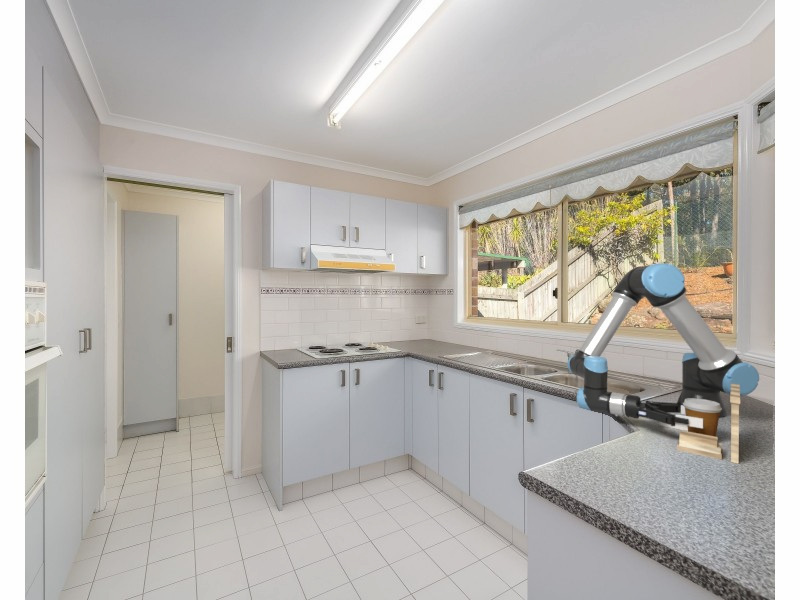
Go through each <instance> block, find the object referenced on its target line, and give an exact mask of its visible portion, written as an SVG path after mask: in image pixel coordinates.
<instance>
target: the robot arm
mask: <svg viewBox="0 0 800 600" xmlns="http://www.w3.org/2000/svg"><path fill="white" fill-rule="evenodd" d="M685 281H686V280H685V276H684V273H683V272H682V271H681V269H679V268H678V267H677V266H675V265H672V264H671V263H660V262H659V263H653V264H649V265H642V266H636V267H634V268H632V269H629V271H628V272H627V273H625V275H624V276H623V277H622V278H621V279H620V281H619V282H618V284H617V285H616V287H615V288H614V290H613V291H612V293H611V296H612V297H611V300H610V301H609V303H608V304H607V305H606V307H605V309H604V311H603V312H602V313H601V315H600V317H599V319H598V320H597V321H596V323H595V325H594V326H593V328H592V330H591V331H590V333H589V334H588V336H587V337H586V339H585V340H584V342H583V343H582V344H581V347H580V348H579V350H578V352H577V353H576V354H575V355H573V356H571V357H569V358H568V359H567V362H566V366H567V369H568V370H569V372H570V373H572V374H573V375H575V376H576V377H577V376H578V377H579V378H582V379H583V381H584V382H583V387H579V388H578V389H577V392H576V394H577V395H576V403H577V406H578V407H579V408H580V409H583V410H584V409H585V410H588V411H591V412H597V413H598V412H599V413H603V414H604V413H605V414H610V415H614V416H615V417H619V416H620V417H624V416H626V417H627V418H630V419H631V418H632V419H639V418H640V417H641V418H646V419H649V420H653V421H657V422H658V423H659V422H662V423H666V424H669V425H671V426H675V422H676V424H680V425H686V426H692V427H697V428H703V419H702V418H696V417H689V416H686V413H685V407H684V405H683V403H684V401H685V399H688V398H696V399H705V400H710V401H714V402H717V403H719V404H720V407H721V408H722V410H721V412H720V415H719V418H722V417H726V416H727V409H726V406H725V403H724V401H723V398H722V396H721V392H722V393H725V394H727V395H730V393H731V383H732V384H739V385H740V397H744V396H748V395H749V394H751V393H753V392H754V391H755V390H756V388H757V387H758V385H759V381H760V373H759V371H758V370H757V368H756V366H754V365H752V364H750V363H749V362H743V361H742V359H741V358H740V357H739V356H738V354H737V353H736V352H735V351H734V350H733V349H727V348H726V347H725V346H724V345H723V343H722V341H720V339H719V338H718V337H717V336H716V334H715V333H714V332H713V330H712V329H711V328H710V327H709V325H708V324H707V322H706V321H705V320H704V319H703V317H702V316H701V315H700V313H699V312H698V311H697V309H696V308H695V307H694V305H693V304H692V303H691V302H690V301H689V299H688V297H686V294H687V291H688V290H687V288H686V287H685ZM643 298H646V300H647V301H648V302H649V304H650V305H651V306H652V307H653V308H656V309H659V310H661V311H662V313H663V314H664V316H665V317H666V318H667V319H668V321H669V322H670V323H671V325H672V326H673V328H675V330H676V331H677V333H678V334H679V335H680V336H681V337H682V339H683V340H684V341H685V343H686V344H687V345H688V347H689V348H690V349H691V352H685V353H683V356H682V361H681V366H682V372H681V373H682V374H681V375H682V383H681V384H682V389H681V392H680V394H679V397H678V399H677V400H676V401H677V402H663V401H650V400H645V402H641V397H640V396H639V395H632V394H626V393H620V392H613V391H608V371H609V367H608V360H607V358H605V357H603V356H602V354H603V353H604V350H606V348H607V347H608V345H609V343H610V342H611V340H612V339H613V337H614V336H615V334H616V333H617V331H618V330H619V328H620V326H621V325H622V323H623V322H624V320H625V319H626V317H627V316H628V314H629V313H630V311H631V309H632V308H633V307H636V306H637V305H638V304H639V303H640V301H642V299H643ZM672 413H677V414H672ZM678 413H679V414H678Z"/></svg>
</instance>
